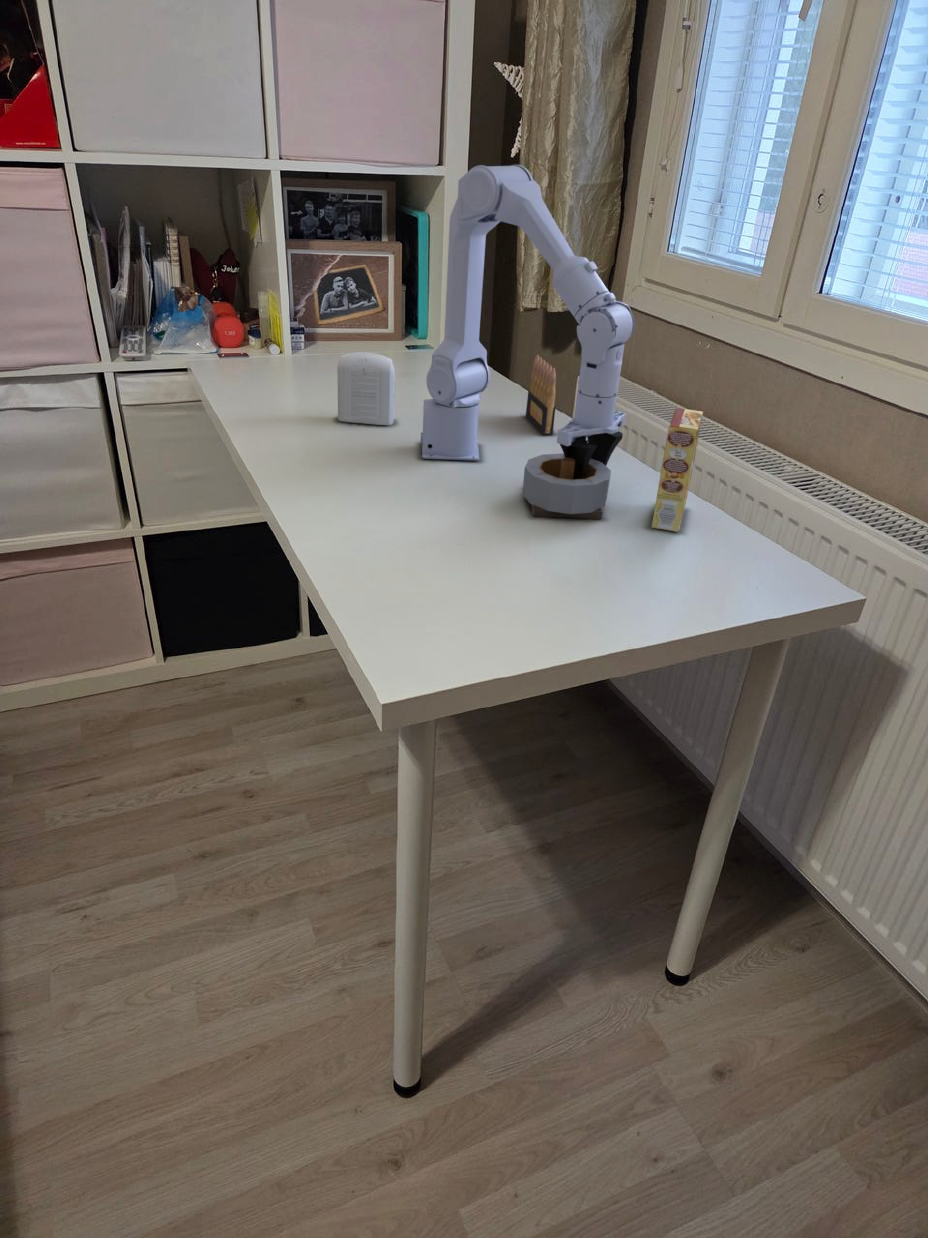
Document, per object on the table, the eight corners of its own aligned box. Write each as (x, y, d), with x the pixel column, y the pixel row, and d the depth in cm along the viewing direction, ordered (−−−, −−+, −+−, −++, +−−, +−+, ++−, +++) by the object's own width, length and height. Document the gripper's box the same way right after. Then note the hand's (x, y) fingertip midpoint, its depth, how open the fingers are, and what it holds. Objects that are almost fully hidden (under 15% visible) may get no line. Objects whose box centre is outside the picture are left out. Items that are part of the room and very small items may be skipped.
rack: (533, 516, 123) (538, 471, 119) (527, 489, 132) (531, 446, 128) (601, 519, 124) (608, 474, 120) (590, 492, 132) (596, 449, 128)
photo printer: (395, 419, 157) (396, 351, 150) (392, 427, 153) (393, 358, 147) (340, 415, 157) (338, 347, 151) (336, 423, 153) (334, 353, 147)
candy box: (679, 533, 121) (700, 429, 113) (649, 528, 122) (668, 424, 114) (684, 510, 128) (705, 410, 120) (656, 505, 129) (674, 406, 121)
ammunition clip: (552, 434, 154) (560, 368, 148) (543, 435, 154) (550, 368, 147) (534, 416, 163) (540, 352, 157) (525, 416, 162) (531, 352, 156)
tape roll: (525, 512, 121) (528, 483, 119) (518, 478, 132) (521, 451, 130) (614, 515, 122) (618, 487, 120) (600, 481, 133) (603, 454, 131)
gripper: (590, 408, 116) (577, 500, 123) (648, 389, 125) (633, 476, 132) (549, 395, 120) (540, 485, 127) (609, 378, 129) (596, 463, 136)
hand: (585, 479), depth 130 cm, fingers open, 4 cm apart
